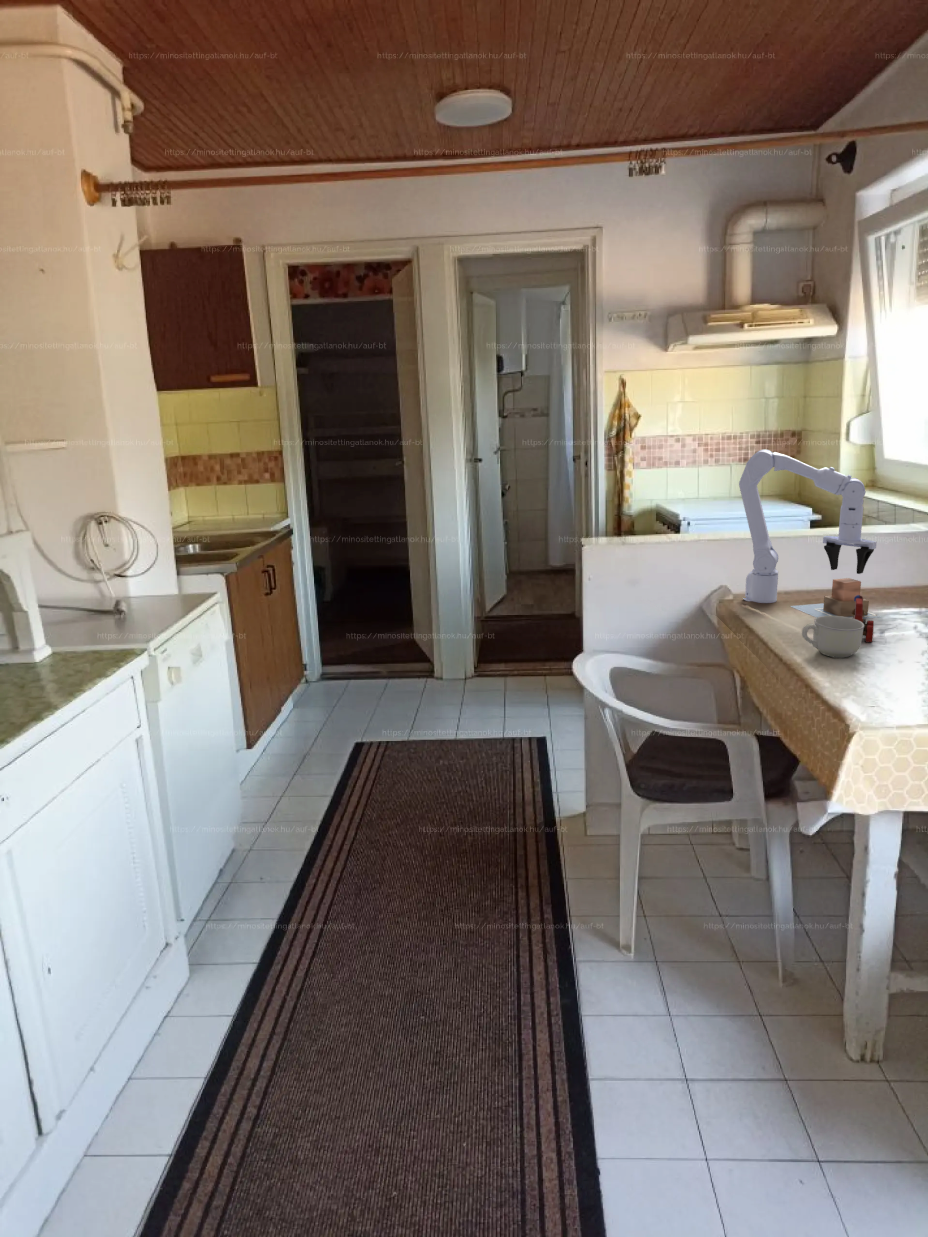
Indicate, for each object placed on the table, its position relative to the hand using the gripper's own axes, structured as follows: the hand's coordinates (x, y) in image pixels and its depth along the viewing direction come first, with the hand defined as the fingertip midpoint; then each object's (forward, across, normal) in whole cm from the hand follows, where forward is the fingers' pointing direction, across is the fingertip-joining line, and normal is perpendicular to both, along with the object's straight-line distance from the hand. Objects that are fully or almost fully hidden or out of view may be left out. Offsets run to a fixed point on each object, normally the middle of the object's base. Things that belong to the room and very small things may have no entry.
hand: (846, 571), depth 236 cm
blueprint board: (+10, +2, -9) cm, 14 cm away
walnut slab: (+10, +5, -8) cm, 13 cm away
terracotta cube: (+6, +5, -8) cm, 11 cm away
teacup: (+11, +21, -43) cm, 49 cm away
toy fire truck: (+11, +18, -26) cm, 33 cm away
